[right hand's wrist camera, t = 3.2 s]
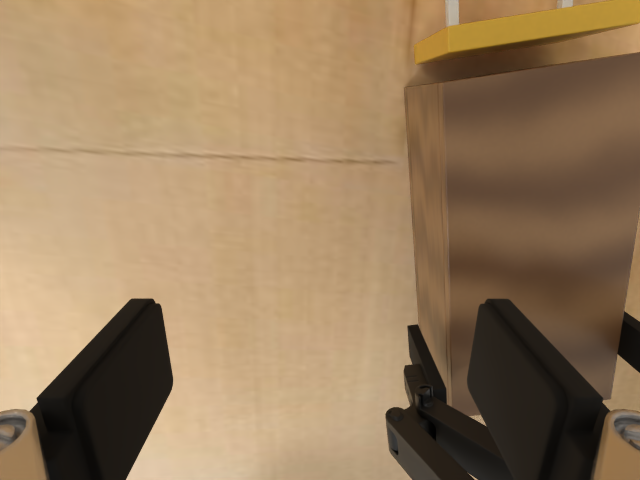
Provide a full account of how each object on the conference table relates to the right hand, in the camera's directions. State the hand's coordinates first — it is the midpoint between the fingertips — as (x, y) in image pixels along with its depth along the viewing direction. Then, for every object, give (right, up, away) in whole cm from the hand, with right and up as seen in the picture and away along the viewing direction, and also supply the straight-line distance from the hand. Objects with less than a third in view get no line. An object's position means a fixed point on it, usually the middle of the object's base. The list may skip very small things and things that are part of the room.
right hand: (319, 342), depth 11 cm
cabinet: (+12, +5, +19) cm, 23 cm away
